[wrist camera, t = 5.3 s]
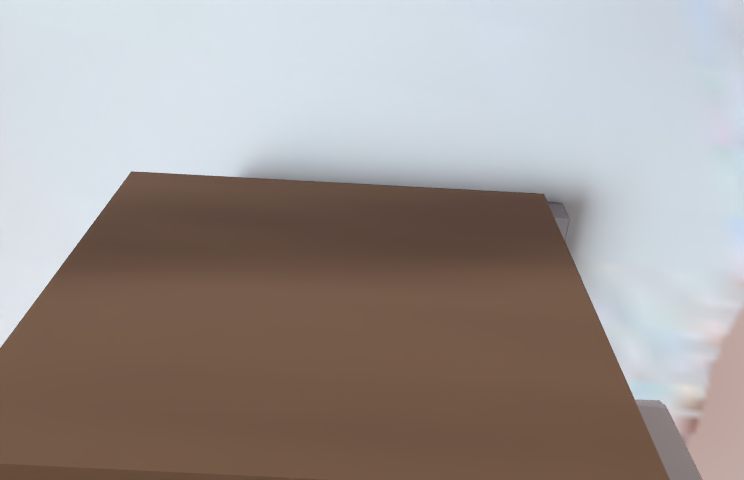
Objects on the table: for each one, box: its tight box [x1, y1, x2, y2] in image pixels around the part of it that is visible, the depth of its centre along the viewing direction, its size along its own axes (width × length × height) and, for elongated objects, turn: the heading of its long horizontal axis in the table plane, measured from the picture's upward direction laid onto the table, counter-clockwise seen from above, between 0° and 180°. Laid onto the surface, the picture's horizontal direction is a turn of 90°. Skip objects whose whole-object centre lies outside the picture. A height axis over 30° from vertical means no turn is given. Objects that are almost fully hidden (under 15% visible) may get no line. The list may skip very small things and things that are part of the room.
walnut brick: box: [0, 172, 670, 480], centre depth 9 cm, size 6×6×5 cm
